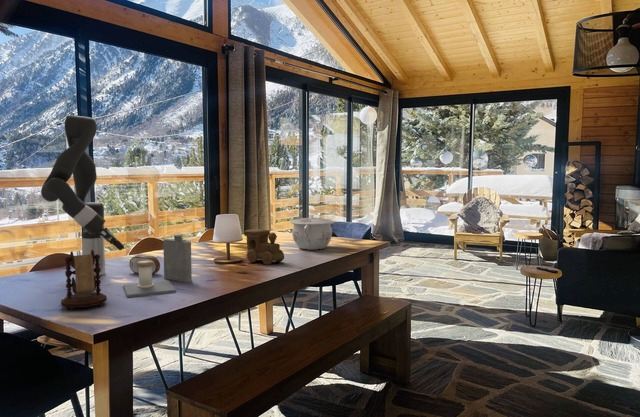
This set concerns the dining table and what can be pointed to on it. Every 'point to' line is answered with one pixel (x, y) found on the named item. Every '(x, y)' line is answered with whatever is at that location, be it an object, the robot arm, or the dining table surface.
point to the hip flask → (177, 259)
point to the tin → (144, 258)
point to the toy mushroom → (145, 274)
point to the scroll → (83, 281)
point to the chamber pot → (312, 232)
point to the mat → (149, 289)
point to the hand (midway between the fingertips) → (121, 247)
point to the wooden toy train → (263, 246)
